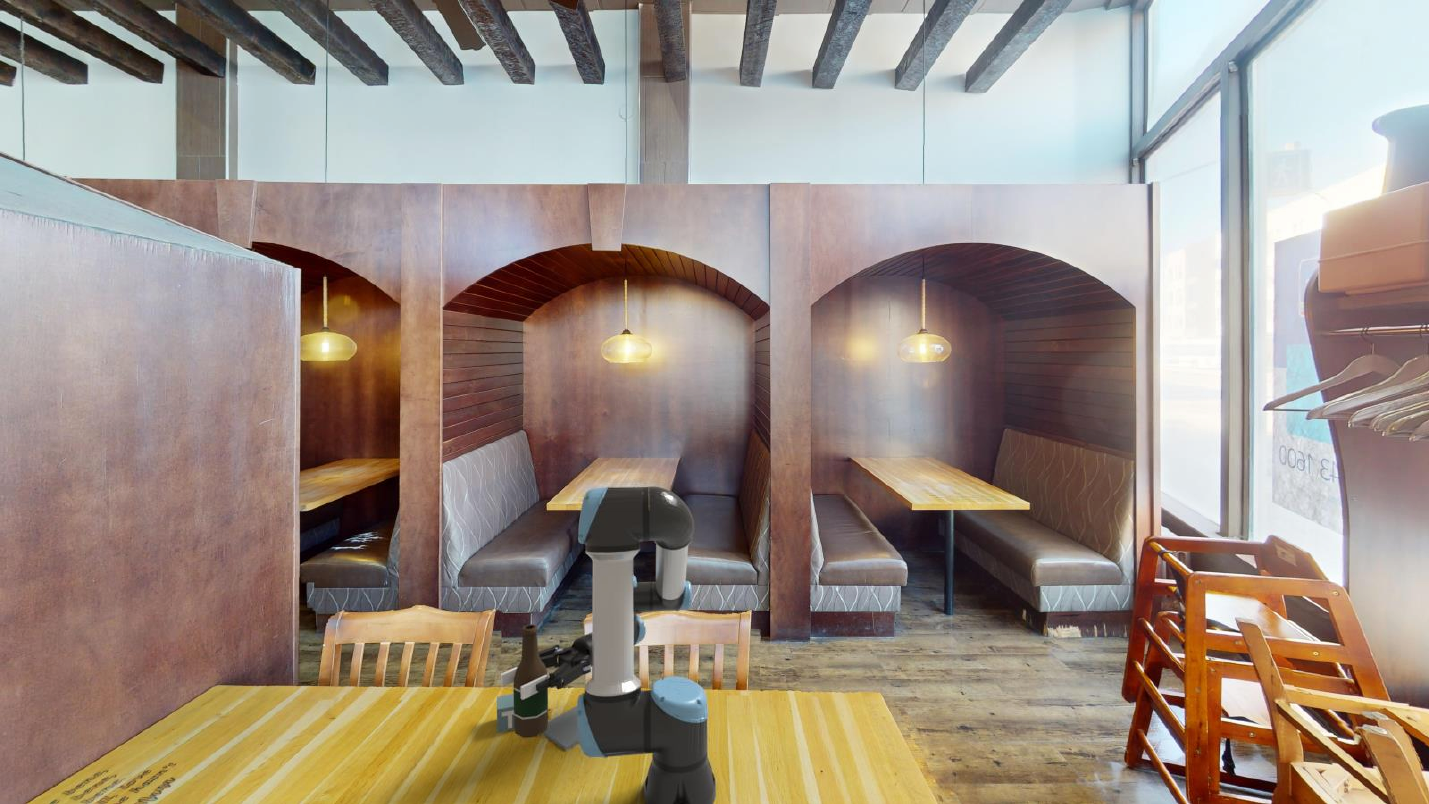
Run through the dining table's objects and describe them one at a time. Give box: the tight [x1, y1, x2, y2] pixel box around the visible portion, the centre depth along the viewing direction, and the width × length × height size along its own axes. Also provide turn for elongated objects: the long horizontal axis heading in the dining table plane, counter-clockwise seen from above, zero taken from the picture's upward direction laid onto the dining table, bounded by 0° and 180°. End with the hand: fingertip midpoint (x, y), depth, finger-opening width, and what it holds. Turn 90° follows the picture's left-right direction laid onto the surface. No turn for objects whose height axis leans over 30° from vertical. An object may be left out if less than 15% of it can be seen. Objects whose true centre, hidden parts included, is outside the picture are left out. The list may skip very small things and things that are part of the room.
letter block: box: [496, 693, 515, 733], centre depth 149 cm, size 6×6×6 cm
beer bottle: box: [512, 623, 549, 739], centre depth 135 cm, size 8×8×24 cm
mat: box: [540, 705, 580, 751], centre depth 147 cm, size 12×12×1 cm
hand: (511, 686), depth 131 cm, fingers closed on beer bottle, 7 cm apart
